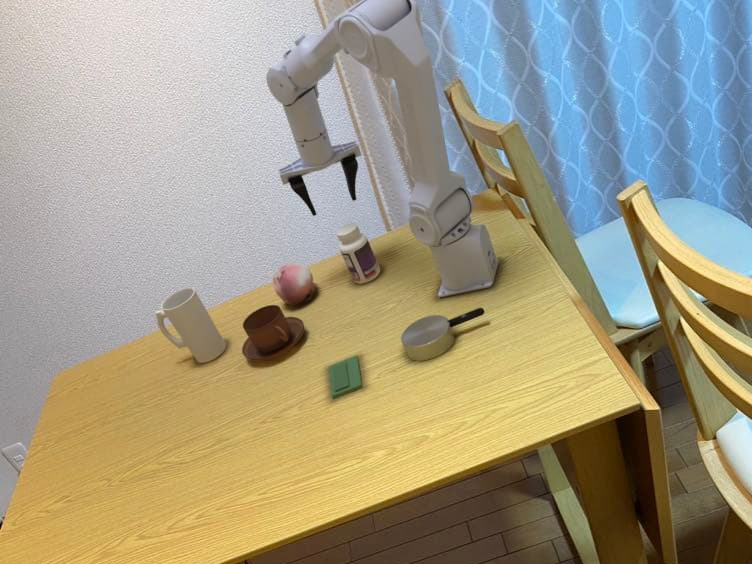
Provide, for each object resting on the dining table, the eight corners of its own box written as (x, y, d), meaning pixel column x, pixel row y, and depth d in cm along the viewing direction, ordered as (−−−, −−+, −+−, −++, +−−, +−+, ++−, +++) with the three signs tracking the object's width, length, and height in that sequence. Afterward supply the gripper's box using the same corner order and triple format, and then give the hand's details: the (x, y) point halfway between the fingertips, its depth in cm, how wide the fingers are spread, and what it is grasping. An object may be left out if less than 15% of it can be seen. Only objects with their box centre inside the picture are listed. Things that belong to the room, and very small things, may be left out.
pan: (410, 367, 133) (403, 352, 131) (404, 341, 139) (398, 327, 137) (493, 334, 131) (487, 319, 129) (483, 309, 136) (478, 294, 135)
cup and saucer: (320, 325, 153) (305, 295, 149) (284, 368, 147) (268, 338, 143) (270, 326, 159) (255, 297, 155) (235, 367, 153) (218, 339, 149)
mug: (231, 337, 162) (199, 283, 154) (222, 358, 157) (188, 303, 149) (186, 350, 165) (152, 297, 157) (176, 371, 161) (140, 318, 153)
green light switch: (358, 357, 140) (356, 353, 140) (362, 387, 134) (360, 382, 133) (330, 368, 141) (327, 364, 140) (333, 399, 134) (330, 394, 134)
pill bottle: (382, 264, 160) (362, 217, 154) (379, 279, 156) (358, 231, 150) (356, 272, 162) (335, 226, 155) (352, 287, 158) (330, 240, 152)
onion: (279, 301, 165) (262, 268, 161) (314, 281, 166) (298, 248, 161) (290, 316, 159) (272, 283, 155) (326, 295, 160) (309, 262, 155)
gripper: (344, 108, 147) (365, 181, 158) (265, 138, 147) (292, 209, 158) (354, 125, 143) (375, 198, 153) (272, 155, 143) (299, 227, 153)
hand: (333, 205), depth 155 cm, fingers open, 7 cm apart
